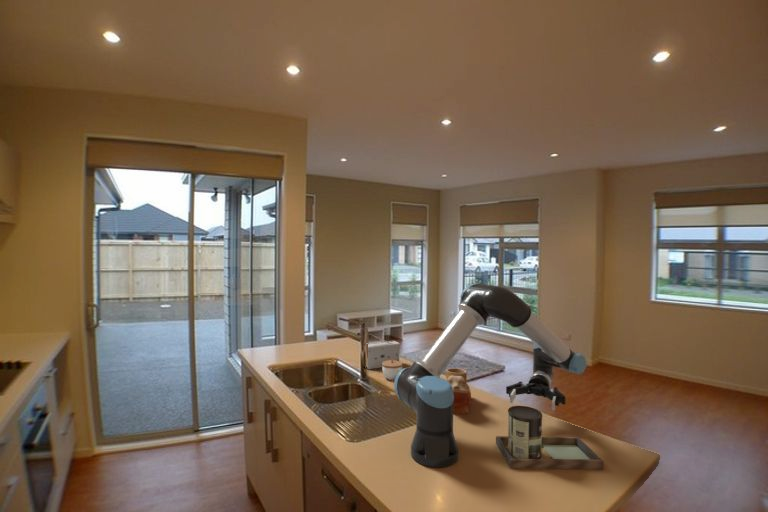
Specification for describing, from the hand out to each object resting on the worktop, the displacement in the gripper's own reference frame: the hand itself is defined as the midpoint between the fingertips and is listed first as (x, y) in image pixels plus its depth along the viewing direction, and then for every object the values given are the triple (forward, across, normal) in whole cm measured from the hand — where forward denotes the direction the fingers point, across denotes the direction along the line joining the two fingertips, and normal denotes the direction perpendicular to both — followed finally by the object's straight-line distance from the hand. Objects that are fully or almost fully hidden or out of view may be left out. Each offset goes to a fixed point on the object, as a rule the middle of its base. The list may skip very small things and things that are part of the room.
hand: (531, 402), depth 129 cm
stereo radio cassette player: (-46, +87, -13) cm, 99 cm away
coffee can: (+12, 0, -13) cm, 18 cm away
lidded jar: (-31, +72, -13) cm, 80 cm away
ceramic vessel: (-15, +33, -13) cm, 39 cm away
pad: (+4, -12, -13) cm, 18 cm away
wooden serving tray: (+8, -6, -13) cm, 16 cm away
